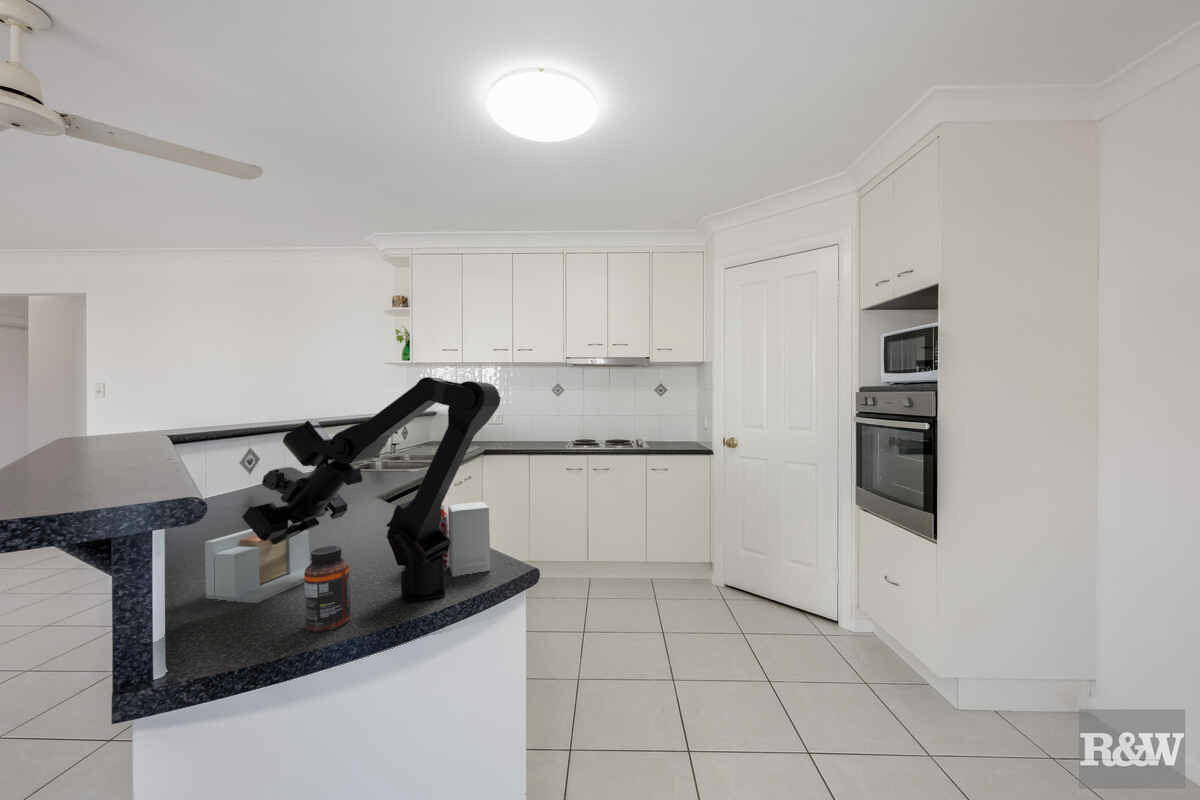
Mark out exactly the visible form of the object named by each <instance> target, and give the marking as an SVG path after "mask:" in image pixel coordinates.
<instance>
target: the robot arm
mask: <svg viewBox="0 0 1200 800" xmlns="http://www.w3.org/2000/svg"><path fill="white" fill-rule="evenodd" d="M437 403H438V404H440V405H444V406H448V409H447V422H448V423H447V428H446V430H445V432H444V435H443V436H442V439H441V441H440V443H439V445H438V447H437V449H436V451H435V454H434V456H433V458H432V460H431V462H430V464H429V466H428V468H427V471H426V473H425V474H424V477H423V479H422V481H421V483H420V485H419V487H418V488H417V492H416V494H415V495H414V498H413V499H412V500H410V501H406V502H403V503H401V504H397V505H396V506H395V508H394V510H393V514H392V517H391V519H390V520H389V522H388V523H387V524H386V527H387V528H388V529H387V533H386V539H387V540H388V541H387V542H388V543H389V545H390V547H391V551H392V553H393V556H394V559H395V562H396V565H397V566H401V568H400V587H401V588H400V589H401V591H400V594H401V597H403V598H404V603H405V604H406V603H407V604H409V603H413V602H420V601H421V602H422V601H426V600H432V598H433V599H437V598H443V597H445V596H446V589H445V581H444V580H445V578H444V577H445V576H444V572H445V571H444V570H445V569H444V566H443V555H442V554H443V553H445V552H447V551H448V550H449V547H450V543H451V540H450V539H449V536H448V537H447V536H446V535H445V534H444V533H443V532H442V531H441V529H440V528H439V525H440V522H441V505H442V504H443V502H444V500H445V498H446V496H447V494H448V492H449V490H450V487H451V485H452V483H453V481H454V480H455V477H456V476H457V472H458V471H459V469H460V466H461V464H462V463H463V460H464V458H465V456H466V454H467V451H468V450H469V448H470V446H471V443H472V441H473V440H474V437H475V436H476V434H477V433H478V432H479V431H481V429H482V428H483V427H484V426H485V425H486V424H487V423H488V422H489V421H490V419H491V418H492V416H493V415H494V413H496V411H497V409H498V408H499V406H500V403H501V396H500V393H499V391H498V389H497V387H496V386H494V385H493V384H492V383H488V382H482V381H481V382H480V381H471V380H469V381H467V380H466V381H463V382H460V383H458V382H455V381H449V380H445V379H443V378H439V377H430V376H429V377H428V376H427V377H423V378H421V379H419V380H418V381H417V382H416V384H415V385H413V386H412V387H411V388H409V390H407V391H406V392H405V393H403V394H402V395H400V396H399V397H398V398H397V399H395V400H394V401H393V402H391V403H390V404H388V405H387V406H386V407H384V408H383V409H381V410H380V411H379V412H378V413H376V414H375V415H374V416H373V417H371V418H370V419H367V420H366V421H363V422H359V423H358V424H354V425H351V426H349V427H347V428H345V429H343V430H341V431H339V432H337V433H336V434H334V436H332V437H330V436H329V435H328V433H327V432H326V431H325V430H324V429H323V427H322V426H321V424H320V423H319V422H318V421H317V420H307V421H305V423H304V424H301V425H299V426H297V427H295V428H294V429H292V430H291V431H290V432H287V433H286V434H285V435H284V437H283V439H282V443H283V444H284V446H285V447H286V448H287V449H288V451H290V453H291V454H292V455H293V456H294V458H296V460H297V461H298V462H299V463H300V464H301V465H302V466H303V467H309V466H311V467H315V468H314V469H313V470H312V471H311V473H310V474H309V475H308V474H306V473H305V472H302V471H301V470H299V469H297V468H295V467H291V466H288V467H280V468H274V469H271V470H269V471H268V472H267V473H266V474H264V475H263V479H262V482H261V483H262V486H263V487H265V488H267V489H268V490H270V491H276V492H278V493H279V494H280V495H281V494H282V495H281V496H280V500H281V501H282V502H283V503H286V505H282V506H278V507H277V506H276V505H275V504H274V502H264V503H263V502H262V503H259V504H253V505H250V506H248V507H247V508H246V510H245V511H244V512H243V514H242V516H241V518H242V519H243V521H244V522H245V523H246V524H247V525H248V527H249V528H250V529H252V530H253V531H254V532H255V534H256V535H257V536H258V537H259V539H261V540H264V541H266V540H269V539H271V542H272V543H273V545H276V544H278V543H280V542H283V541H285V540H287V539H289V538H291V537H293V536H295V535H297V534H300V533H302V532H304V531H309V530H310V529H313V528H315V527H317V526H319V525H320V521H319V520H318V519H317V518H319V517H323V516H324V515H325V514H326V513H327V512H329V511H331V514H330V515H329V517H330V519H331V520H336V519H338V518H342V517H343V516H344V515H345V514H346V512H347V511H348V503H347V502H346V501H345V500H344V499H343V497H342V496H341V495H340V493H339V492H340V490H341V489H342V488H343V487H344V485H346V486H350V485H355V484H360V483H362V482H363V475H362V473H361V472H362V470H361V468H360V467H357V468H356V467H355V466H354V465H353V464H354V463H360V462H367V461H371V460H373V459H374V458H375V457H376V456H377V455H378V454H379V453H380V452H381V451H382V450H383V449H384V448H385V447H386V445H387V443H388V440H390V438H391V437H392V435H395V434H396V433H397V432H398V431H399V430H401V429H402V428H404V427H405V426H406V425H408V424H409V423H411V422H412V421H414V419H416V418H417V417H419V416H421V415H422V413H424V412H426V411H427V410H428V409H429V408H431V407H432V406H434V405H435V404H437ZM442 506H443V505H442ZM421 547H422V548H423V549H422V548H421ZM402 566H403V567H402Z"/></svg>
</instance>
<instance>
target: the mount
mask: <svg viewBox="0 0 1200 800" xmlns="http://www.w3.org/2000/svg"><path fill="white" fill-rule="evenodd" d="M255 535H256V534H255V532H254V531H253V530H252V529H251V528H250V529H249V528H248V529H246V530H242V531H239V532H235V533H231V534H229V535H225V536H221V537H218V538H215V539H210V540H206V541H205V542H204V549H205V550H204V555H205V558H204V559H205V560H204V561H205V562H204V563H205V569H204V570H205V599H206V598H210V599H219V600H218V601H220V600H227V601H226V602H234V601H236V602H239V603H249V604H258V603H261V602H263V601H265V600H268V599H269V598H272V597H274V596H277V595H278V594H281V593H283V592H285V591H287V590H289V589H291V588H294V587H297V586H299V585H301V584H303V583H304V572H305V569H306V568H307V567H308V566H309V565H310V531H309V530H306V531H304V532H302V533H300V534H297V535H295V536H293V537H291V538H289V539H287V573H286V574H283V575H281V576H279V577H276V578H274V579H271V580H269V581H266V582H264V583H261V584H260V575H259V547H253V546H241V540H242V539H245V538H249V537H252V536H255ZM236 602H235V603H236Z"/></svg>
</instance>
